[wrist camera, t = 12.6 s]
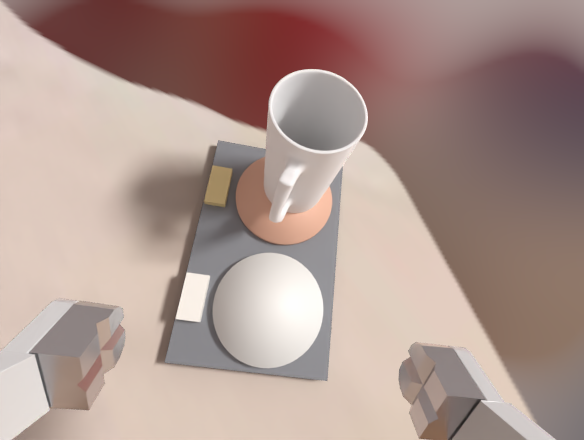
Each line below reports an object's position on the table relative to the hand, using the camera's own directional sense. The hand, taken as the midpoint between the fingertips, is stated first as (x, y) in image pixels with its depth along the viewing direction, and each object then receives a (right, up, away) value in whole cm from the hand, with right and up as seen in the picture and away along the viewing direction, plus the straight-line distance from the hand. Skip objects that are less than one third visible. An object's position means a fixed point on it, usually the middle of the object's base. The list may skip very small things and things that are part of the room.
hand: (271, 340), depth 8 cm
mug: (0, +6, +22) cm, 23 cm away
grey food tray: (-2, 0, +21) cm, 22 cm away
